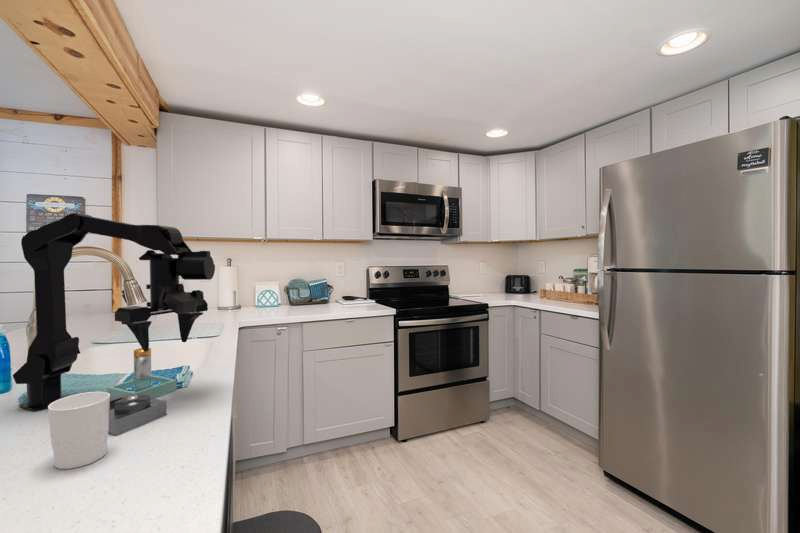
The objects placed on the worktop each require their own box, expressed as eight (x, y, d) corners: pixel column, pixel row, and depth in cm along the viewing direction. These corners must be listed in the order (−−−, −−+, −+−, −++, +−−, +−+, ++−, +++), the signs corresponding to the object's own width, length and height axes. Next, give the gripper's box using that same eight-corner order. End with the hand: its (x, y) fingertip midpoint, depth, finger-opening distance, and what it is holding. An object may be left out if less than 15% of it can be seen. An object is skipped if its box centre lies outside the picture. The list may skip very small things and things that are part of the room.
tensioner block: (78, 424, 74) (77, 398, 74) (130, 405, 84) (130, 382, 83) (115, 435, 70) (115, 408, 70) (166, 414, 79) (166, 390, 79)
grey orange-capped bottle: (130, 393, 90) (130, 350, 90) (145, 388, 93) (144, 347, 93) (140, 395, 89) (139, 352, 88) (154, 390, 92) (154, 348, 92)
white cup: (75, 474, 58) (73, 411, 57) (36, 468, 59) (34, 407, 59) (122, 448, 65) (121, 393, 65) (86, 444, 67) (85, 389, 67)
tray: (107, 397, 88) (107, 387, 88) (150, 384, 98) (149, 374, 98) (134, 404, 84) (134, 393, 84) (176, 389, 94) (176, 379, 94)
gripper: (147, 283, 74) (148, 360, 74) (223, 278, 91) (224, 340, 92) (112, 282, 78) (113, 355, 79) (191, 277, 95) (192, 337, 96)
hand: (166, 346), depth 86 cm, fingers open, 9 cm apart
